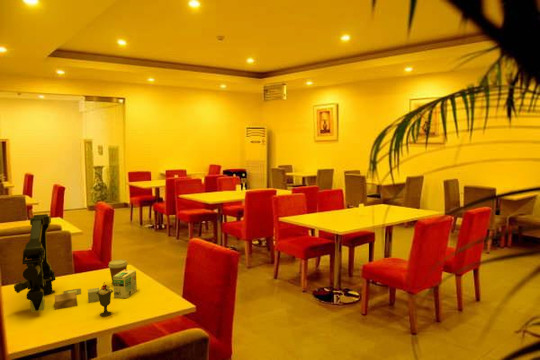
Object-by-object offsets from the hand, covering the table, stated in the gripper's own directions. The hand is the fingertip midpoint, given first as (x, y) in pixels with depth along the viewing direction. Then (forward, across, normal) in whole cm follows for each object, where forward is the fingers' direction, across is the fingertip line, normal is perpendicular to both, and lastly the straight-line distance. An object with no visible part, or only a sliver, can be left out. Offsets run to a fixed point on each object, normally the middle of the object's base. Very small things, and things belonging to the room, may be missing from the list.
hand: (37, 306), depth 187 cm
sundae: (+1, +20, +27) cm, 34 cm away
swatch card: (+1, -15, +14) cm, 20 cm away
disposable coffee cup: (+1, -17, +36) cm, 40 cm away
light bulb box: (+1, 0, +38) cm, 38 cm away
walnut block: (+1, 0, +11) cm, 11 cm away
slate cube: (+1, +1, +23) cm, 23 cm away
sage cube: (+1, 0, 0) cm, 1 cm away
